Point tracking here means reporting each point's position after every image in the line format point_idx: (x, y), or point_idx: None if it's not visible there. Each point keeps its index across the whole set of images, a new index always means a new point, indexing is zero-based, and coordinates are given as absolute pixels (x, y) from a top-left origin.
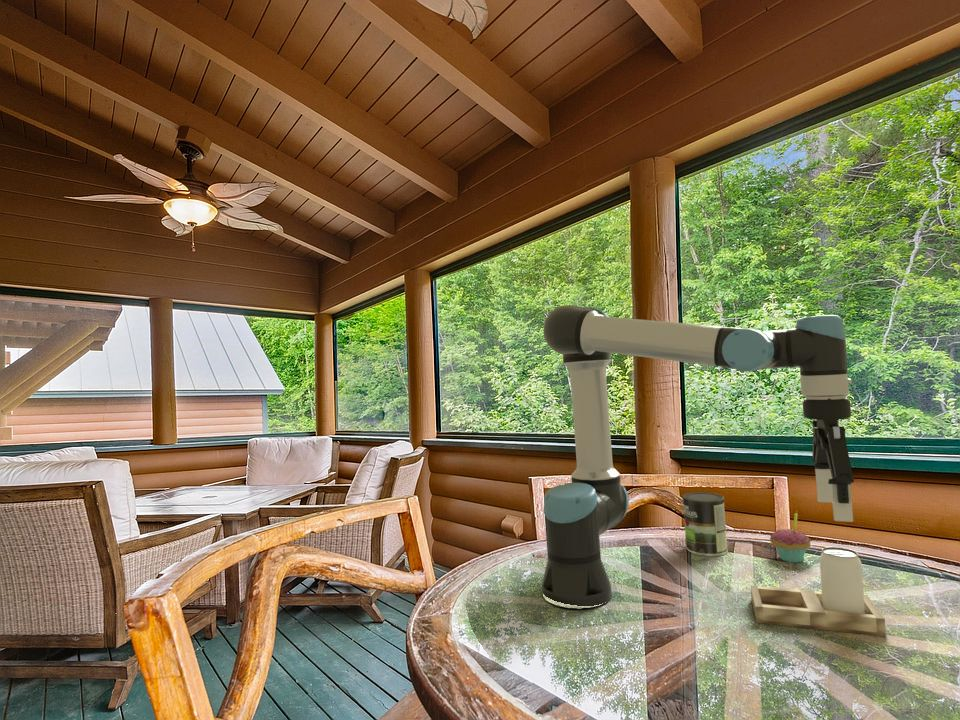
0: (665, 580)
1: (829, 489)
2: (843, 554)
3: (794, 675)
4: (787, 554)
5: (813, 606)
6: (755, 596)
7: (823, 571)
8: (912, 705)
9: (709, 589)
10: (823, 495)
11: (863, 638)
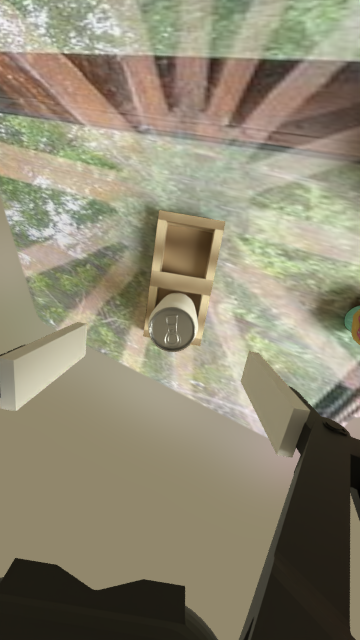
0: (293, 107)
1: (253, 393)
2: (167, 332)
3: (59, 222)
4: (354, 312)
5: (165, 279)
6: (189, 218)
7: (168, 299)
8: (38, 299)
9: (256, 176)
10: (252, 370)
11: (140, 310)
